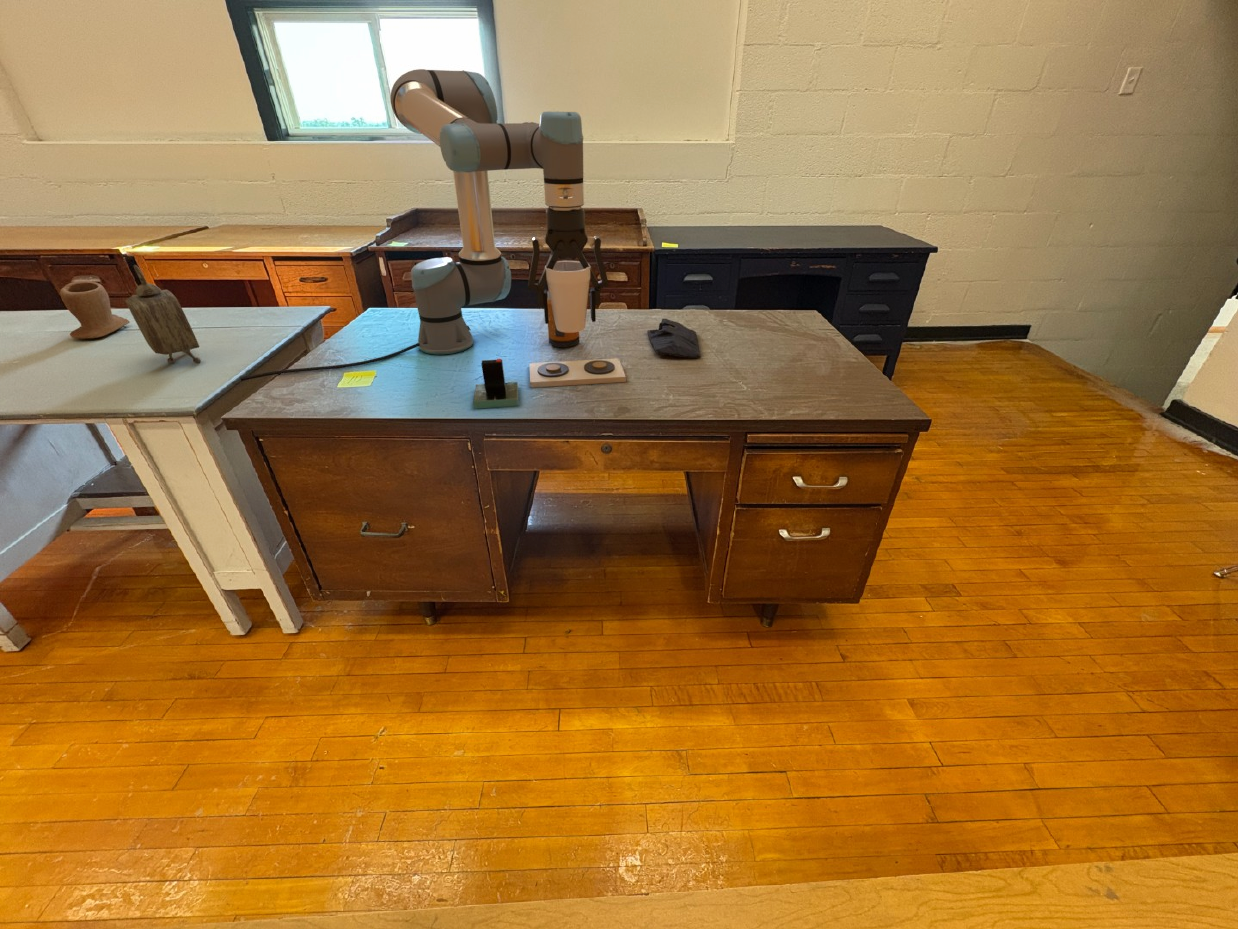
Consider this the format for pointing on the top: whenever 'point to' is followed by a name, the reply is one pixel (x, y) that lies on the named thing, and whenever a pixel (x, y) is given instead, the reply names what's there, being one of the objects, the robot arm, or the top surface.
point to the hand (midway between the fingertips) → (570, 320)
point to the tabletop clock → (161, 320)
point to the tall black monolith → (493, 376)
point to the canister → (556, 336)
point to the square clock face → (496, 397)
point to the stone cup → (91, 309)
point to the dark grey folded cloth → (674, 340)
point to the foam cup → (569, 294)
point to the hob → (576, 372)
